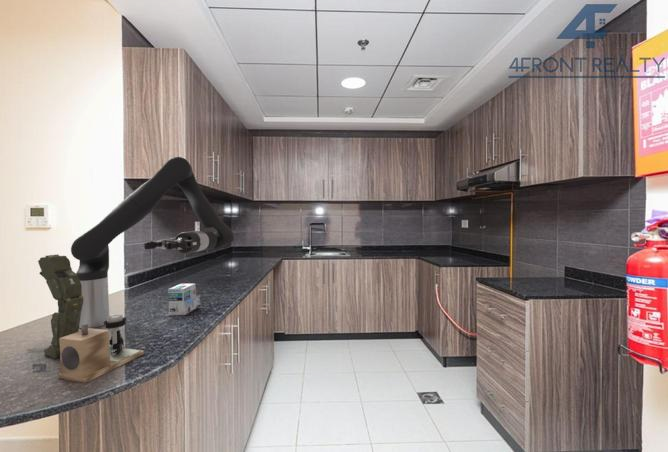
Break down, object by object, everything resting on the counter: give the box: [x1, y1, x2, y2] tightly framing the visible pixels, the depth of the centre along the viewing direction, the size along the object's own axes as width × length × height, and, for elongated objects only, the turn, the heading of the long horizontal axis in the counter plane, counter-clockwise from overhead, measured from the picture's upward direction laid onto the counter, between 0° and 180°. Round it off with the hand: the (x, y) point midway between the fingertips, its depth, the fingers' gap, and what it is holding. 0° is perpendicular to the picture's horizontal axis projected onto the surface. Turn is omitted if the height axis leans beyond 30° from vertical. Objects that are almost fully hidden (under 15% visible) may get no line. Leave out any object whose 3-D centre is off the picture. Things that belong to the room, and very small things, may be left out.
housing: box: [57, 324, 145, 384], centre depth 83 cm, size 16×9×12 cm, turn 164°
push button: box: [104, 314, 128, 356], centre depth 88 cm, size 7×5×10 cm
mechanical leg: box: [37, 254, 84, 360], centre depth 91 cm, size 14×7×30 cm, turn 71°
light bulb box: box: [167, 283, 197, 316], centre depth 130 cm, size 11×7×11 cm, turn 179°
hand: (156, 246), depth 98 cm, fingers open, 8 cm apart
